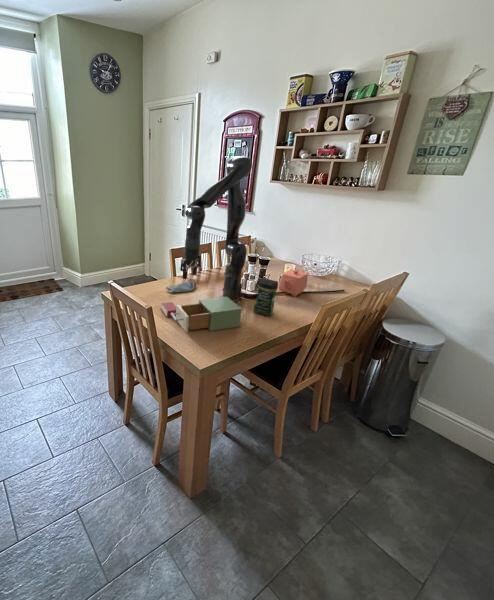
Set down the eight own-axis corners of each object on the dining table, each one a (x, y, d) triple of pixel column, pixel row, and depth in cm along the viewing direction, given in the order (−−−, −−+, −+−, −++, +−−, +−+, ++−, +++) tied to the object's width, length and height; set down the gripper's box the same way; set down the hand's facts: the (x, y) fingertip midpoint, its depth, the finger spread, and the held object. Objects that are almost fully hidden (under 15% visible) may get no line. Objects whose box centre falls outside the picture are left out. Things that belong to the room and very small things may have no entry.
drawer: (177, 333, 150) (178, 318, 147) (167, 319, 162) (168, 305, 158) (214, 327, 155) (215, 313, 152) (202, 315, 167) (203, 301, 164)
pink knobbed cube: (292, 300, 188) (297, 277, 182) (272, 294, 196) (276, 271, 190) (308, 290, 202) (313, 269, 196) (289, 285, 210) (293, 264, 204)
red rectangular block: (171, 307, 176) (172, 301, 175) (178, 315, 168) (178, 309, 166) (161, 309, 175) (161, 303, 173) (167, 317, 166) (167, 311, 165)
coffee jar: (251, 312, 173) (256, 279, 166) (257, 307, 179) (262, 275, 171) (268, 317, 168) (274, 284, 160) (275, 312, 173) (281, 279, 166)
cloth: (176, 296, 190) (176, 292, 189) (161, 289, 200) (161, 285, 199) (206, 286, 206) (207, 282, 205) (191, 279, 215) (191, 276, 214)
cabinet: (210, 330, 154) (211, 312, 150) (197, 317, 167) (199, 299, 163) (239, 326, 159) (241, 308, 155) (225, 313, 171) (227, 296, 167)
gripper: (189, 250, 157) (187, 281, 164) (206, 245, 167) (203, 275, 174) (177, 247, 161) (175, 278, 168) (194, 242, 171) (191, 271, 178)
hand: (189, 276), depth 171 cm, fingers open, 8 cm apart
